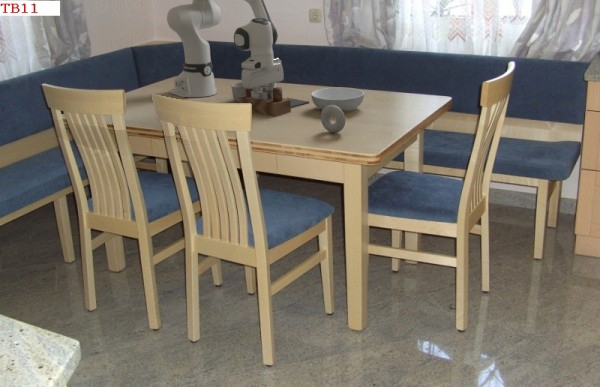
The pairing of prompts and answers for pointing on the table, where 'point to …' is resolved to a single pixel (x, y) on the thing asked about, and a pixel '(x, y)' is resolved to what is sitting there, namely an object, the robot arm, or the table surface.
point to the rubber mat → (297, 102)
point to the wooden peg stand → (268, 103)
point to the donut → (338, 115)
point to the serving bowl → (338, 98)
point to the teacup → (238, 91)
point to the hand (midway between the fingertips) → (264, 96)
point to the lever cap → (263, 95)
